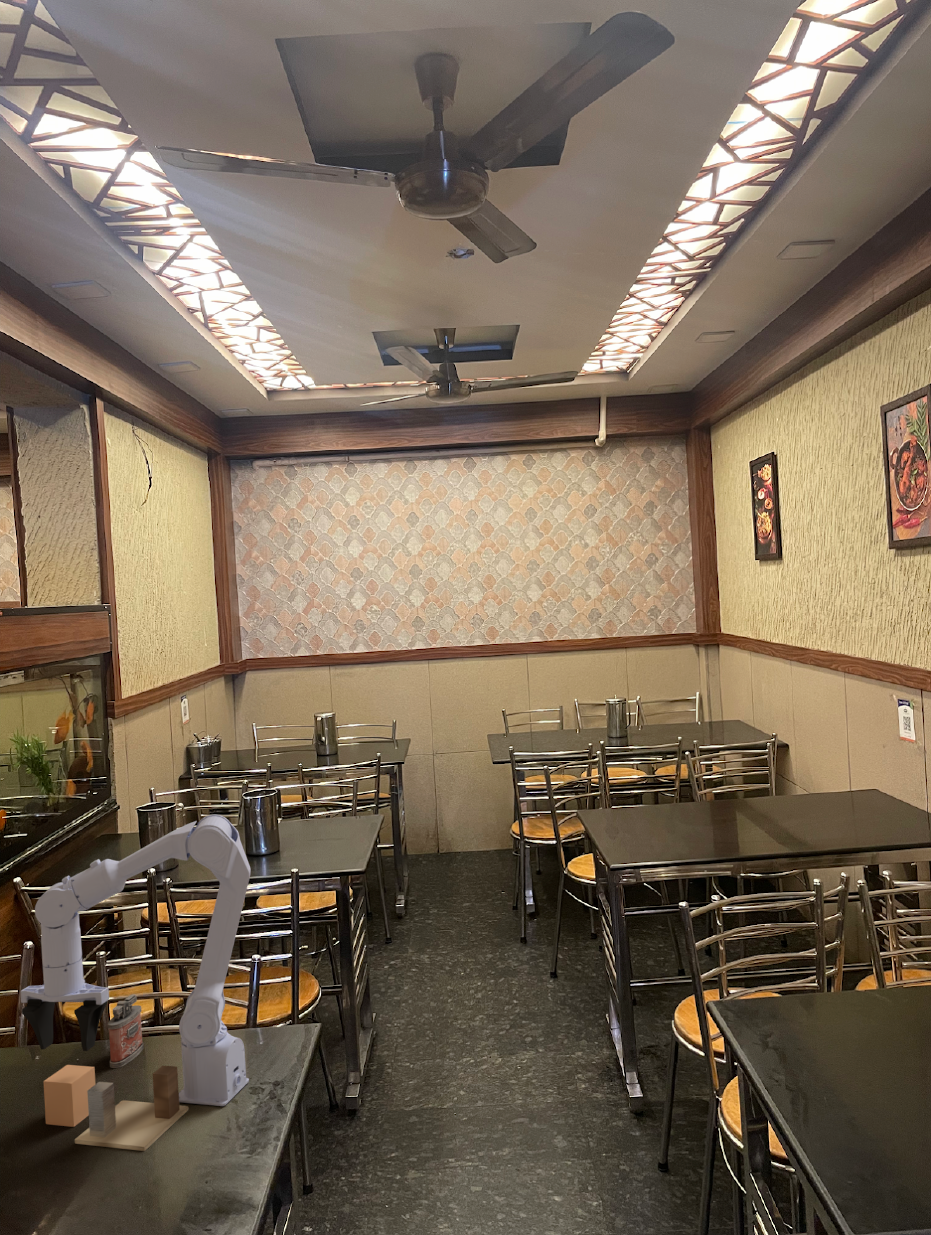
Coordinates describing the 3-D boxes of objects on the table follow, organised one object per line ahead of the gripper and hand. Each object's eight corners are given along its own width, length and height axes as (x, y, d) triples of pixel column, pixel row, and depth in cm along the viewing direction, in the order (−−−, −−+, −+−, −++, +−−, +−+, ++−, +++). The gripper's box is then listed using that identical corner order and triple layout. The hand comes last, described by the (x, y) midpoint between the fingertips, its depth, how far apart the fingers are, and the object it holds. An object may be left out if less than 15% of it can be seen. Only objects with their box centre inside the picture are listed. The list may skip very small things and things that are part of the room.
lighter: (122, 1068, 153) (119, 1010, 153) (105, 1067, 154) (101, 1010, 154) (148, 1046, 161) (144, 991, 161) (131, 1045, 162) (128, 991, 162)
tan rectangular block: (96, 1108, 140) (94, 1067, 140) (74, 1126, 135) (71, 1083, 135) (69, 1106, 141) (67, 1064, 141) (45, 1124, 136) (43, 1081, 136)
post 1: (116, 1127, 133) (113, 1082, 133) (104, 1137, 130) (102, 1091, 130) (101, 1126, 133) (99, 1081, 133) (89, 1135, 131) (87, 1090, 131)
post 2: (179, 1109, 136) (177, 1066, 137) (169, 1119, 134) (167, 1074, 134) (165, 1108, 137) (162, 1065, 137) (155, 1117, 135) (152, 1073, 135)
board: (188, 1110, 137) (187, 1106, 137) (144, 1150, 127) (144, 1146, 127) (122, 1103, 141) (122, 1100, 141) (74, 1143, 130) (74, 1139, 130)
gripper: (118, 952, 142) (123, 1036, 141) (40, 951, 145) (44, 1034, 145) (90, 969, 135) (96, 1058, 135) (9, 968, 138) (14, 1054, 138)
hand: (67, 1047), depth 139 cm, fingers open, 7 cm apart
